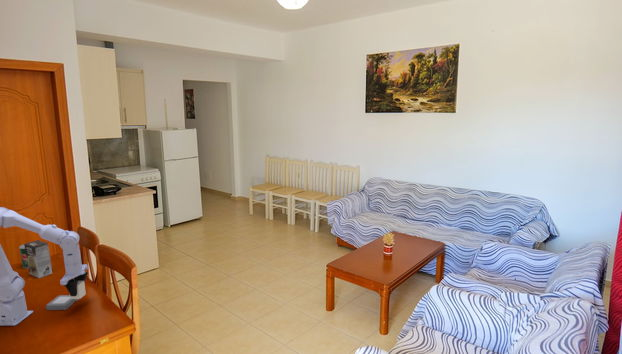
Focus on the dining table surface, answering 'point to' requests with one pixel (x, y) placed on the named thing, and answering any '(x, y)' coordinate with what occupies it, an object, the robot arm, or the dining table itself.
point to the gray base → (60, 303)
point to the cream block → (79, 290)
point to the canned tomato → (23, 256)
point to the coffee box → (38, 258)
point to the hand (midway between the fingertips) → (77, 292)
